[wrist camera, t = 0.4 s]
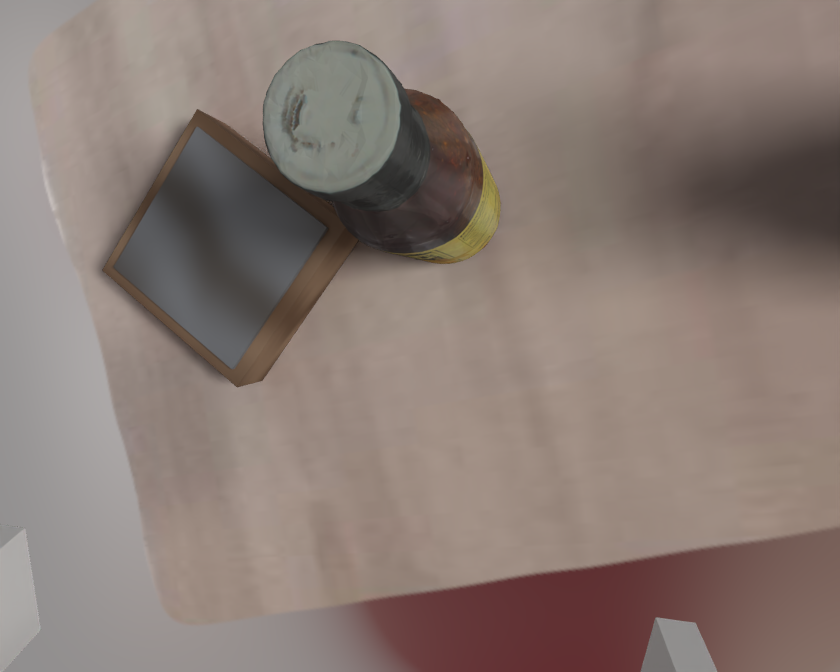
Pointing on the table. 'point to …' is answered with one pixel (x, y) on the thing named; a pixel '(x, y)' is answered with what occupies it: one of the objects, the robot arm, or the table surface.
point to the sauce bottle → (380, 155)
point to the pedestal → (229, 251)
